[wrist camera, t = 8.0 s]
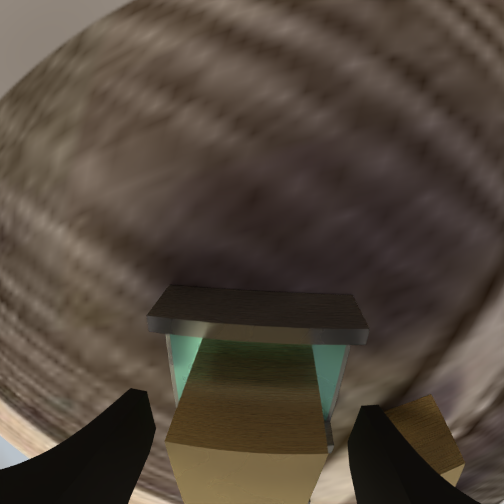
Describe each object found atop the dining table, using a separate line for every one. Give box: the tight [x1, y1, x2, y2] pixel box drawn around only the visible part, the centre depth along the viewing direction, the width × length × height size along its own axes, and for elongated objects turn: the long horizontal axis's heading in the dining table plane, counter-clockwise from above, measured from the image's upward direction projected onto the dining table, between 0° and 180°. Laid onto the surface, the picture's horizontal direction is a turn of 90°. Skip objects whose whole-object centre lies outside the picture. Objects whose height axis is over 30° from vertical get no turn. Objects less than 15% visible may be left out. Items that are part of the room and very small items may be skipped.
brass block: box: [165, 338, 328, 504], centre depth 9 cm, size 4×4×5 cm
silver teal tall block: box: [147, 285, 369, 504], centre depth 13 cm, size 19×7×2 cm, turn 178°
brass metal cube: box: [384, 394, 465, 487], centre depth 11 cm, size 4×4×5 cm
